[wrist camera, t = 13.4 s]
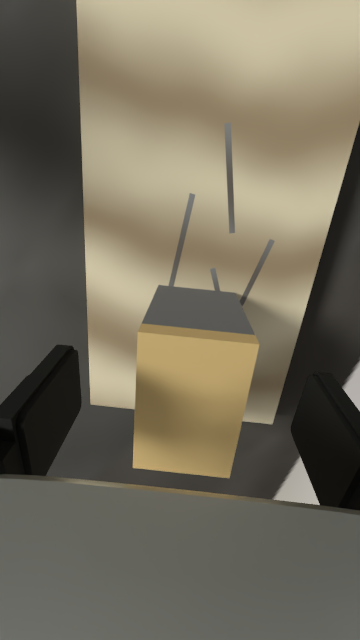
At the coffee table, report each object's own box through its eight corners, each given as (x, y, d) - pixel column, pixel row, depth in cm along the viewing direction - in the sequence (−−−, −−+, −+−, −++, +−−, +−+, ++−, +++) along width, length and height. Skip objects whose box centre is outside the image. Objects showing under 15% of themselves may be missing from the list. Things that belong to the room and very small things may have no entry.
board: (87, -63, 12) (73, -101, 11) (386, -34, 12) (413, -68, 11) (97, 390, 21) (90, 404, 20) (267, 409, 21) (272, 424, 20)
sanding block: (158, 284, 16) (137, 331, 10) (235, 292, 16) (259, 344, 10) (152, 384, 19) (132, 467, 13) (218, 391, 19) (229, 477, 13)
